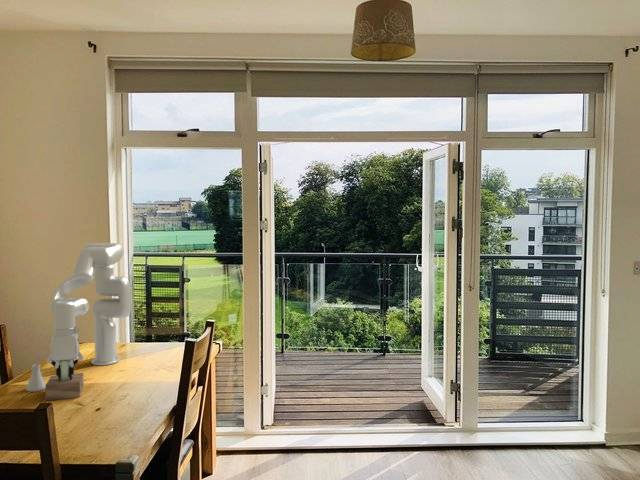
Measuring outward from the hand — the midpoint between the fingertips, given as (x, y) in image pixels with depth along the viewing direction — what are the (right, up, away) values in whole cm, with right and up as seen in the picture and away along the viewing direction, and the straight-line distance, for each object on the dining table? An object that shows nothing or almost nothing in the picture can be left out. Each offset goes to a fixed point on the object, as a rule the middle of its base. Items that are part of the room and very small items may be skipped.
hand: (65, 376), depth 196 cm
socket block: (0, -7, 0) cm, 7 cm away
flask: (-14, -7, +5) cm, 17 cm away
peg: (0, -3, 0) cm, 3 cm away
